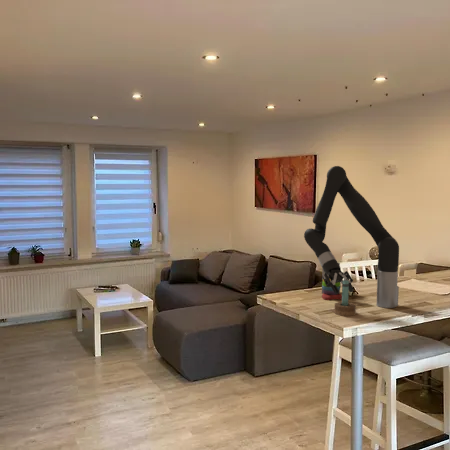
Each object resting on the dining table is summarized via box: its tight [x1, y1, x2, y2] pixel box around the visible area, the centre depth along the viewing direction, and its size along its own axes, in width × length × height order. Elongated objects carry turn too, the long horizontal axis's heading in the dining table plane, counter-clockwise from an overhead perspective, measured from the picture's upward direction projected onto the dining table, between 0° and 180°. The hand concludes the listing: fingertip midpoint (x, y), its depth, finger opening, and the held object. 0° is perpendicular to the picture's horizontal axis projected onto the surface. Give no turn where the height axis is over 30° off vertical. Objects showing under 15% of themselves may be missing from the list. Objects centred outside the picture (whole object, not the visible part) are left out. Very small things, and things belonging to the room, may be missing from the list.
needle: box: [341, 279, 350, 306], centre depth 215 cm, size 3×3×15 cm
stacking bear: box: [321, 279, 342, 301], centre depth 245 cm, size 11×10×18 cm
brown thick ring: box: [334, 301, 357, 317], centre depth 216 cm, size 9×9×4 cm
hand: (345, 292), depth 215 cm, fingers open, 8 cm apart
